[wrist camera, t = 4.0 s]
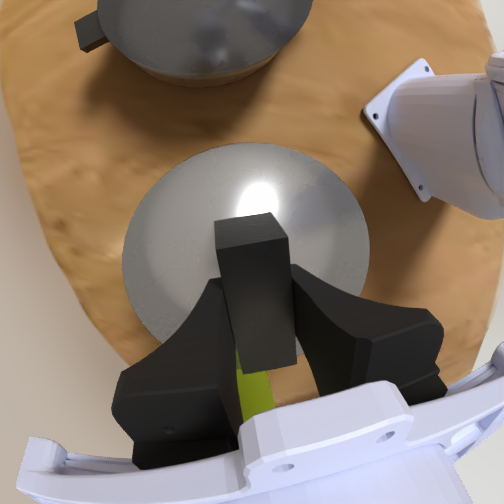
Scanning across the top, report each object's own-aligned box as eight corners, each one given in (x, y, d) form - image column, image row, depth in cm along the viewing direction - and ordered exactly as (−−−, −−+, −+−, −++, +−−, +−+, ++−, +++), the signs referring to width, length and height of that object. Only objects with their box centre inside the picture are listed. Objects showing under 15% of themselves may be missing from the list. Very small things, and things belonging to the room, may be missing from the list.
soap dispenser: (272, 387, 27) (320, 570, 9) (203, 390, 26) (220, 584, 8) (280, 347, 25) (350, 565, 7) (201, 349, 24) (219, 588, 6)
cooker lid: (358, 131, 12) (408, 137, 9) (355, 333, 17) (382, 376, 14) (99, 172, 11) (58, 192, 8) (166, 369, 16) (161, 421, 13)
